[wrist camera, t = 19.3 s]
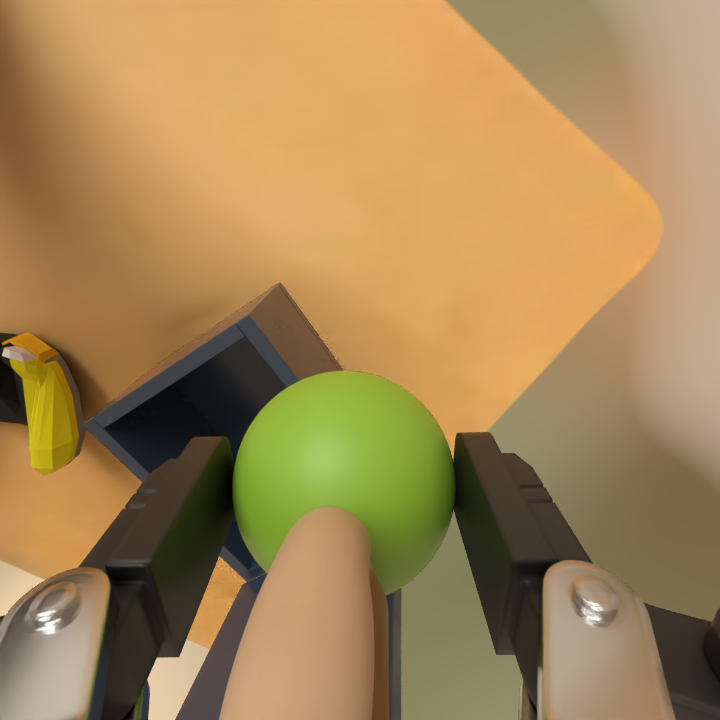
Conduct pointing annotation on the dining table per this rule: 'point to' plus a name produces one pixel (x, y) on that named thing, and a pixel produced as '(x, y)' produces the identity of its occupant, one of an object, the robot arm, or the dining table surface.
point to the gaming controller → (41, 400)
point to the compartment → (214, 393)
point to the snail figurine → (333, 542)
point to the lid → (211, 682)
